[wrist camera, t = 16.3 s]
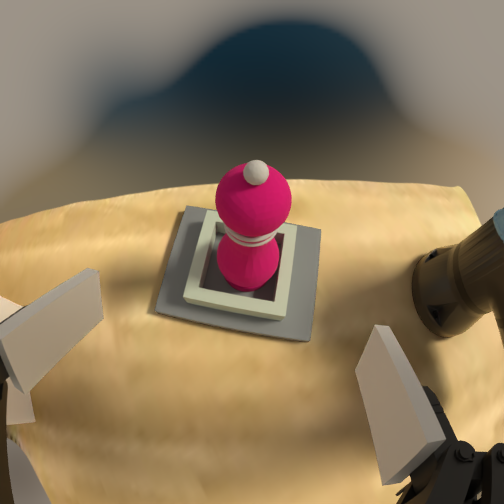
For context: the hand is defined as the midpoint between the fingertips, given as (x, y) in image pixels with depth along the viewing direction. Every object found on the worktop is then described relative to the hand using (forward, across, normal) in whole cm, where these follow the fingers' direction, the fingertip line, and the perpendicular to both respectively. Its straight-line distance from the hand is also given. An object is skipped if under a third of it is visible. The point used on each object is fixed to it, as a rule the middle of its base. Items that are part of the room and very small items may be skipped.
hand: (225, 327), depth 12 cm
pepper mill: (+24, -1, -6) cm, 25 cm away
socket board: (+25, -2, -7) cm, 26 cm away
